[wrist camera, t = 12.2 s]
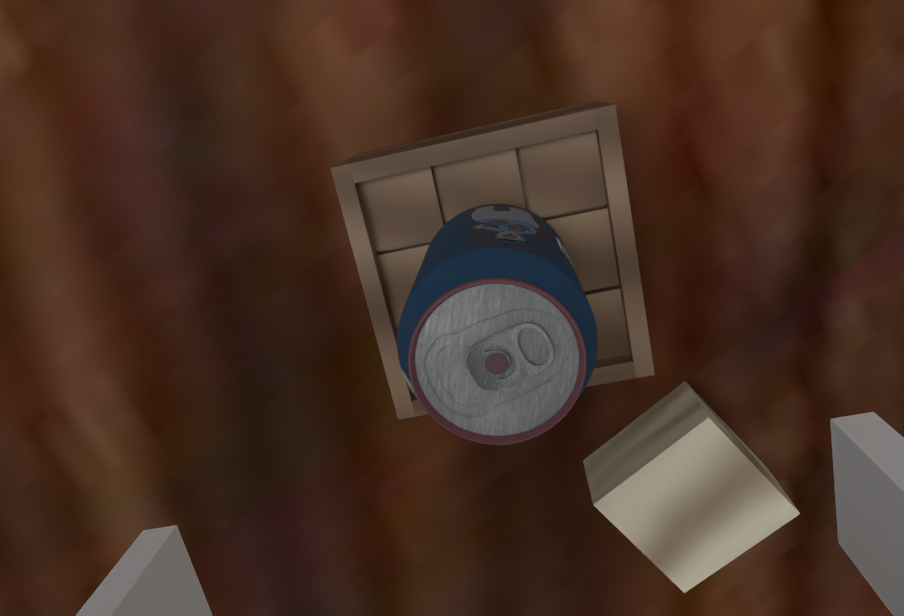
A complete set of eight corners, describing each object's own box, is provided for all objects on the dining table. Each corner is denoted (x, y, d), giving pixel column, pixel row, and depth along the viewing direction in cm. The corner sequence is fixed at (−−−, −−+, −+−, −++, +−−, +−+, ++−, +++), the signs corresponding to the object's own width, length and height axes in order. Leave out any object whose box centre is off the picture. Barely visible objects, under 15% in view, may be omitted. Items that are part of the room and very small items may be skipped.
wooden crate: (358, 154, 38) (330, 168, 31) (593, 101, 36) (615, 104, 30) (413, 367, 42) (398, 419, 35) (628, 328, 40) (654, 375, 34)
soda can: (464, 359, 35) (449, 491, 23) (399, 238, 33) (349, 318, 22) (591, 301, 33) (640, 412, 22) (530, 173, 32) (550, 221, 20)
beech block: (582, 458, 43) (593, 504, 38) (683, 379, 41) (708, 417, 36) (664, 539, 45) (684, 593, 40) (766, 466, 43) (800, 513, 38)
